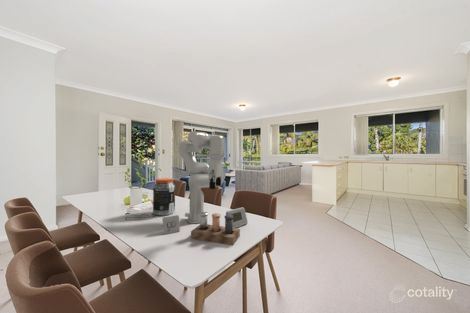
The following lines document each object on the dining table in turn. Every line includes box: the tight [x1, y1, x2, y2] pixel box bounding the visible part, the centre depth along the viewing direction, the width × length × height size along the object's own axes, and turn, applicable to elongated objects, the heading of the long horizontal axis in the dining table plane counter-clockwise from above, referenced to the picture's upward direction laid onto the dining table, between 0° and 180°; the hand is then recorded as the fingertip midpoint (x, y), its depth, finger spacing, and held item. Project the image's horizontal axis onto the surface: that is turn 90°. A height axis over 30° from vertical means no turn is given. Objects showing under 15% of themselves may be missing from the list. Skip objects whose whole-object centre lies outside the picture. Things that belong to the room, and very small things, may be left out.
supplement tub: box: [152, 177, 176, 216], centre depth 148 cm, size 16×16×26 cm
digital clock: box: [225, 207, 248, 229], centre depth 124 cm, size 16×9×11 cm, turn 123°
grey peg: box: [199, 211, 209, 230], centre depth 109 cm, size 5×5×9 cm
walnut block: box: [190, 223, 241, 247], centre depth 107 cm, size 24×12×4 cm, turn 72°
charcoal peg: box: [224, 214, 233, 234], centre depth 104 cm, size 5×5×9 cm
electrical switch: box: [162, 214, 181, 235], centre depth 114 cm, size 9×5×9 cm, turn 121°
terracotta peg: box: [211, 212, 221, 232], centre depth 107 cm, size 5×5×9 cm
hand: (215, 187), depth 111 cm, fingers open, 9 cm apart
